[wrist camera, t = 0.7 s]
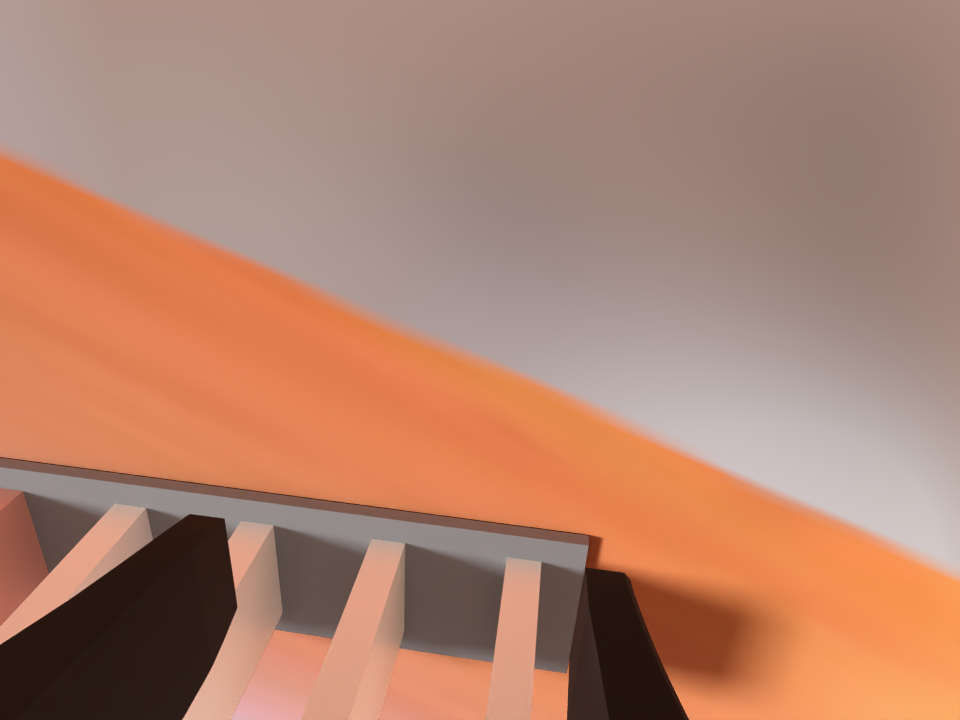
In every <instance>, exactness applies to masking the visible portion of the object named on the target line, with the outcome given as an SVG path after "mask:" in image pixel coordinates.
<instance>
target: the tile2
mask: <svg viewBox="0 0 960 720" xmlns="http://www.w3.org/2000/svg"><path fill="white" fill-rule="evenodd" d="M404 603H405V543H400V542H392V541H385V540H377V539H371V542H370V545H369V547H368V550H367V552H366V555H365V557H364V560H363V563H362V565H361V568H360V570H359V573H358V575H357V578H356V581H355V583H354V586H353V588H352V591H351V593H350V596H349V599H348V601H347V604H346V606H345V609H344V611H343V614H342V617H341V619H340V622H339V624H338V627H337V629H336V632H335V635H334V637H333V640H332V642H331V645H330V647H329V650H328V653H327V655H326V658H325V660H324V663H323V665H322V668H321V671H320V673H319V676H318V678H317V681H316V683H315V686H314V689H313V691H312V694H311V696H310V699H309V701H308V704H307V707H306V709H305V712H304V714H303V717H302V719H301V720H379V719H380V716H381V712H382V709H383V705H384V701H385V698H386V694H387V691H388V687H389V684H390V680H391V676H392V673H393V669H394V666H395V662H396V659H397V655H398V651H399V648H400V644H401V641H402V637H403V633H404Z"/></svg>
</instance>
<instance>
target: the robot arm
mask: <svg viewBox="0 0 960 720" xmlns="http://www.w3.org/2000/svg"><path fill="white" fill-rule="evenodd" d="M237 608H238V606H237V599H236V592H235V586H234V579H233V572H232V565H231V558H230V552H229V545H228V538H227V531H226V524H225V519H224V518H217V517H210V516H202V515H195V514H189V515H187V516H186V517H185V518H183V519H182V520H180V521H179V522H177V523H176V524H174V525H173V526H172V527H170V528H169V529H167V530H166V531H165V532H163V533H162V534H160V535H159V536H158V537H156V538H155V539H154V540H152V541H151V542H149V543H148V544H147V545H145V546H144V547H143V548H141V549H140V550H138V551H137V552H136V553H134V554H133V555H131V556H130V557H129V558H127V559H126V560H125V561H123V562H122V563H120V564H119V565H118V566H116V567H115V568H113V569H112V570H111V571H109V572H108V573H106V574H105V575H103V576H102V577H101V578H99V579H98V580H96V581H95V582H93V583H92V584H91V585H89V586H88V587H86V588H85V589H84V590H82V591H81V592H79V593H78V594H76V595H75V596H74V597H72V598H71V599H69V600H68V601H66V602H65V603H63V604H62V605H60V606H59V607H57V608H56V609H54V610H52V611H51V612H49V613H48V614H46V615H45V616H43V617H42V618H40V619H39V620H37V621H36V622H34V623H33V624H31V625H29V626H28V627H26V628H25V629H23V630H22V631H20V632H19V633H17V634H16V635H14V636H13V637H11V638H9V639H8V640H6V641H5V642H3V643H2V644H0V720H183V718H184V716H185V714H186V713H187V711H188V709H189V707H190V706H191V704H192V702H193V700H194V699H195V697H196V695H197V693H198V692H199V690H200V688H201V686H202V685H203V683H204V681H205V679H206V677H207V676H208V674H209V672H210V670H211V668H212V667H213V664H214V662H215V660H216V658H217V655H218V653H219V651H220V648H221V646H222V644H223V642H224V639H225V637H226V635H227V632H228V630H229V627H230V625H231V622H232V620H233V617H234V615H235V613H236V610H237ZM567 720H689V719H688V717H687V715H686V713H685V711H684V709H683V707H682V705H681V703H680V701H679V699H678V697H677V694H676V692H675V690H674V688H673V686H672V684H671V682H670V680H669V678H668V676H667V673H666V671H665V669H664V667H663V665H662V663H661V660H660V658H659V656H658V654H657V651H656V649H655V647H654V644H653V642H652V639H651V637H650V634H649V632H648V630H647V627H646V625H645V622H644V619H643V617H642V614H641V612H640V609H639V606H638V603H637V600H636V597H635V595H634V592H633V588H632V585H631V582H630V579H629V578H628V577H627V576H626V574H625V573H621V572H613V571H606V570H599V569H591V568H585V573H584V578H583V584H582V590H581V596H580V601H579V607H578V613H577V618H576V624H575V630H574V636H573V641H572V647H571V653H570V665H569V686H568V711H567Z"/></svg>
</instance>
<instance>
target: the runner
mask: <svg viewBox="0 0 960 720" xmlns="http://www.w3.org/2000/svg"><path fill="white" fill-rule="evenodd" d="M0 488H4V489H11V490H19V491H23V493H24V496H25V500H26V503H27V506H28V509H29V512H30V515H31V519H32V522H33V525H34V528H35V531H36V534H37V538H38V541H39V544H40V547H41V550H42V554H43V557H44V560H45V563H46V566H47V569H48V573H49V574H50V573H51V572H52V571H53V569H54V568H55V567H56V566H57V565H58V564H59V563H60V562H61V561H62V560H63V559H64V558H65V557H66V556H67V554H68V553H69V552H70V551H71V550H72V549H73V548H74V547H75V546H76V545H77V544H78V543H79V542H80V540H81V539H82V538H83V537H84V536H85V535H86V534H87V533H88V532H89V531H90V530H91V529H92V528H93V527H94V525H95V524H96V523H97V522H98V521H99V520H100V519H101V518H102V517H103V516H104V515H105V514H106V513H107V512H108V510H109V509H110V508H111V507H112V506H113V505H114V504H121V505H129V506H136V507H143V508H146V510H147V515H148V519H149V524H150V529H151V533H152V538H153V540H154V539H155V538H156V537H158V536H159V535H160V534H162V533H163V532H165V531H166V530H167V529H169V528H170V527H172V526H173V525H174V524H176V523H177V522H179V521H180V520H182V519H183V518H185V517H186V516H187V515H189V514H195V515H202V516H210V517H217V518H224V519H225V524H226V531H227V538H228V540H229V539H230V537H231V536H232V534H233V533H234V531H235V530H236V528H237V526H238V525H239V523H240V522H241V521H246V522H253V523H260V524H268V525H273V526H274V536H275V545H276V555H277V564H278V574H279V583H280V593H281V602H282V612H283V613H282V615H281V617H280V619H279V621H278V624H277V626H276V628H275V630H281V631H287V632H294V633H301V634H308V635H314V636H321V637H328V638H333V637H334V635H335V632H336V629H337V627H338V624H339V622H340V619H341V617H342V614H343V611H344V609H345V606H346V604H347V601H348V599H349V596H350V593H351V591H352V588H353V586H354V583H355V581H356V578H357V575H358V573H359V570H360V568H361V565H362V563H363V560H364V557H365V555H366V552H367V550H368V547H369V545H370V542H371V539H377V540H385V541H392V542H400V543H405V603H404V633H403V637H402V641H401V644H400V648H401V649H408V650H414V651H421V652H428V653H434V654H441V655H448V656H454V657H461V658H468V659H474V660H481V661H488V662H493V659H494V652H495V644H496V636H497V629H498V621H499V614H500V606H501V598H502V591H503V583H504V575H505V568H506V560H507V557H509V558H517V559H524V560H531V561H539V562H541V575H540V590H539V605H538V619H537V634H536V649H535V663H534V668H535V669H541V670H548V671H555V672H561V673H567V668H568V662H569V656H570V651H571V645H572V639H573V633H574V628H575V622H576V616H577V610H578V605H579V599H580V593H581V588H582V582H583V576H584V570H585V565H586V559H587V553H588V547H589V536H588V535H581V534H573V533H565V532H558V531H550V530H543V529H535V528H528V527H520V526H512V525H505V524H497V523H490V522H482V521H475V520H467V519H460V518H452V517H444V516H437V515H429V514H422V513H414V512H407V511H399V510H391V509H384V508H376V507H369V506H361V505H354V504H346V503H338V502H331V501H323V500H316V499H308V498H301V497H293V496H286V495H278V494H270V493H263V492H255V491H248V490H240V489H233V488H225V487H217V486H210V485H202V484H195V483H187V482H180V481H172V480H165V479H157V478H149V477H142V476H134V475H127V474H119V473H112V472H104V471H96V470H89V469H81V468H74V467H66V466H59V465H51V464H43V463H36V462H28V461H21V460H13V459H6V458H0Z"/></svg>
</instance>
